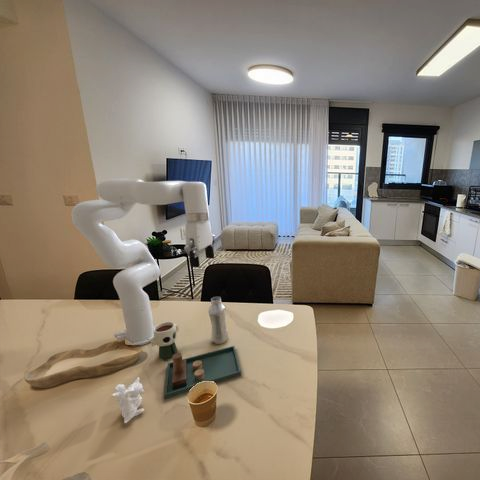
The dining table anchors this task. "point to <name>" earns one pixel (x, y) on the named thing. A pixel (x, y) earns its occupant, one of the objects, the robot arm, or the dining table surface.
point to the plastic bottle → (218, 321)
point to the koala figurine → (129, 399)
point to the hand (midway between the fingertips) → (203, 262)
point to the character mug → (165, 339)
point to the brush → (179, 372)
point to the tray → (206, 369)
